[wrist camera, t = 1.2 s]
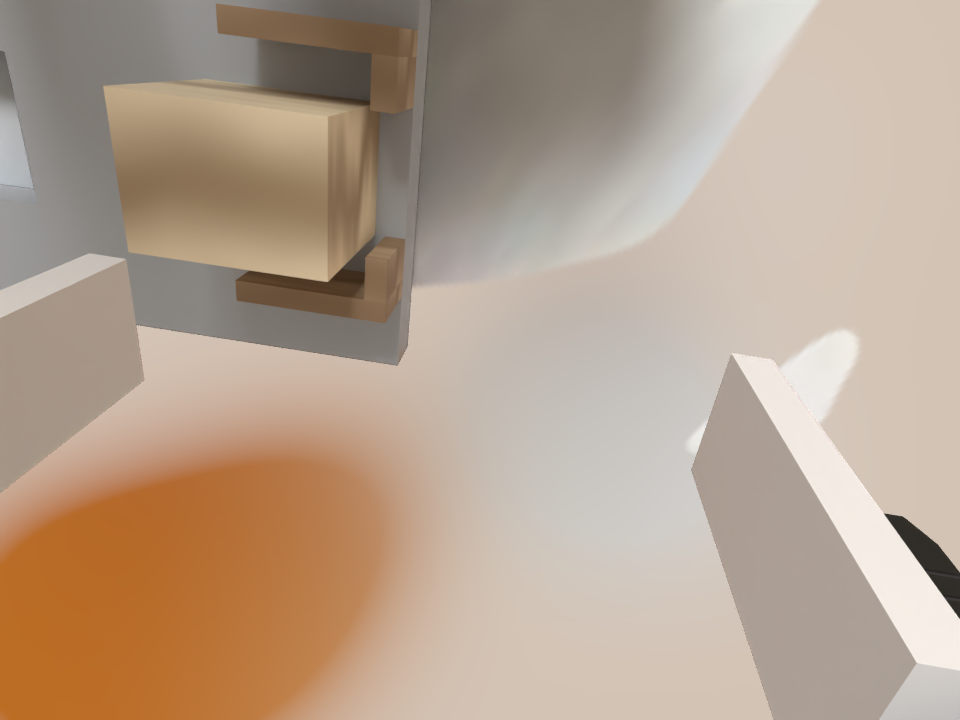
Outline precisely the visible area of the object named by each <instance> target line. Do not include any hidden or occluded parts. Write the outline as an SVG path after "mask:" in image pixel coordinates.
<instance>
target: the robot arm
mask: <svg viewBox="0 0 960 720" xmlns="http://www.w3.org/2000/svg"><path fill="white" fill-rule="evenodd" d="M143 381H144V375H143V369H142V361H141V355H140V348H139V341H138V335H137V328H136V321H135V314H134V307H133V301H132V294H131V287H130V280H129V274H128V267H127V260H126V259H123V258H116V257H110V256H103V255H97V254H91V253H89V254H86V255H84V256H82V257H79V258H77V259H74V260H72V261H70V262H67V263H65V264H62V265H60V266H58V267H55V268H53V269H50V270H48V271H46V272H43V273H41V274H38V275H36V276H34V277H31V278H29V279H26V280H24V281H22V282H19V283H17V284H15V285H12V286H10V287H7V288H5V289H3V290H0V492H2V491H3V490H4V489H6V488H7V487H8V486H10V485H11V484H12V483H13V482H15V481H16V480H17V479H19V478H20V477H21V476H22V475H24V474H25V473H26V472H28V471H29V470H30V469H31V468H33V467H34V466H35V465H36V464H38V463H39V462H40V461H42V460H43V459H44V458H45V457H46V456H48V455H49V454H50V453H52V452H53V451H54V450H56V449H57V448H58V447H59V446H61V445H62V444H63V443H65V442H66V441H67V440H68V439H70V438H71V437H72V436H73V435H75V434H76V433H77V432H79V431H80V430H81V429H82V428H84V427H85V426H86V425H88V424H89V423H90V422H91V421H92V420H94V419H95V418H97V417H98V416H99V415H100V414H102V413H103V412H104V411H106V410H107V409H108V408H109V407H111V406H112V405H113V404H114V403H116V402H117V401H118V400H119V399H121V398H122V397H123V396H125V395H126V394H127V393H129V392H130V391H131V390H132V389H134V388H135V387H136V386H137V385H139V384H140V383H141V382H143ZM691 471H692V474H693V477H694V480H695V483H696V486H697V489H698V492H699V495H700V498H701V501H702V504H703V507H704V510H705V513H706V516H707V519H708V522H709V525H710V528H711V532H712V534H713V538H714V541H715V544H716V546H717V549H718V552H719V555H720V558H721V562H722V565H723V568H724V571H725V573H726V577H727V580H728V583H729V586H730V589H731V592H732V595H733V598H734V601H735V604H736V607H737V610H738V613H739V616H740V619H741V622H742V625H743V628H744V631H745V635H746V637H747V641H748V644H749V646H750V649H751V653H752V656H753V659H754V662H755V665H756V668H757V671H758V674H759V677H760V680H761V683H762V686H763V689H764V692H765V695H766V698H767V701H768V704H769V707H770V710H771V713H772V716H773V719H774V720H960V572H959V571H958V570H957V569H956V567H955V566H954V565H953V563H952V562H951V561H950V559H949V558H948V557H947V556H946V554H945V553H944V552H943V551H942V549H941V548H940V547H939V545H938V544H936V543H935V542H934V541H933V540H931V539H930V538H929V537H928V536H927V535H925V534H924V533H923V532H922V531H920V530H919V529H918V528H916V527H915V526H914V525H913V524H912V523H910V522H909V521H908V520H907V519H905V518H904V517H902V516H896V515H890V514H884V513H883V512H882V511H881V509H880V508H879V507H878V505H877V504H876V503H875V501H874V500H873V498H872V497H871V496H870V494H869V493H868V491H867V490H866V489H865V487H864V486H863V484H862V483H861V482H860V480H859V479H858V478H857V476H856V475H855V473H854V472H853V471H852V469H851V468H850V466H849V465H848V464H847V462H846V461H845V460H844V458H843V457H842V455H841V454H840V453H839V451H838V450H837V448H836V447H835V446H834V444H833V443H832V441H831V440H830V439H829V437H828V436H827V435H826V433H825V432H824V431H823V429H822V428H821V426H820V425H819V423H818V422H817V421H816V419H815V418H814V417H813V415H812V414H811V412H810V411H809V410H808V408H807V407H806V405H805V404H804V403H803V401H802V400H801V398H800V397H799V396H798V394H797V393H796V392H795V390H794V389H793V387H792V386H791V385H790V383H789V382H788V380H787V379H786V378H785V376H784V375H783V374H782V372H781V371H780V369H779V368H778V367H777V365H776V364H775V362H774V361H773V360H772V359H766V358H759V357H753V356H747V355H740V354H734V353H732V354H731V356H730V359H729V362H728V365H727V368H726V371H725V374H724V377H723V380H722V383H721V385H720V388H719V391H718V394H717V397H716V400H715V403H714V406H713V408H712V411H711V414H710V417H709V420H708V423H707V426H706V429H705V432H704V434H703V437H702V440H701V443H700V446H699V449H698V452H697V455H696V458H695V461H694V463H693V467H692V469H691Z"/></svg>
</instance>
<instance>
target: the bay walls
mask: <svg viewBox="0 0 960 720" xmlns="http://www.w3.org/2000/svg"><path fill="white" fill-rule="evenodd" d="M216 15H217V29H218V33H219V34H226V35H234V36H241V37H249V38H256V39H264V40H272V41H279V42H287V43H294V44H302V45H309V46H317V47H324V48H332V49H339V50H347V51H355V52H362V53H370V54H372V62H371V94H370V111H377V112H385V113H392V114H396V113H399V112H402V111H404V110H407V109H410V108H413V107H414V91H415V74H416V58H417V42H418V31H417V30H412V29H406V28H401V27H394V26H386V25H379V24H371V23H363V22H356V21H348V20H340V19H333V18H325V17H317V16H310V15H302V14H294V13H287V12H279V11H271V10H264V9H256V8H248V7H240V6H233V5H225V4H217V3H216ZM404 253H405V239H400V238H393V237H386V236H385V237H384V238H383V239H382V240H381V241H380V242H379V243H378V245H377V246H376V247H375V248H374V249H373V250H372V251H371V252H370V253H369V254H368V255H367V256H366V257H365V272H359V271H352V270H346V269H340V270H339V271H338V272H337V273H336V274H335V275H334V276H333V277H332V278H331V279H330V280H329V281H328V282H323V281H317V280H310V279H303V278H297V277H290V276H283V275H277V274H270V273H263V272H257V271H250V270H249V271H248V272H247V273H245V274H244V275H242V276H241V277H239V278H238V279H237V280H235V283H236V297H237V301H242V302H248V303H255V304H261V305H268V306H274V307H281V308H287V309H294V310H300V311H307V312H314V313H320V314H327V315H333V316H340V317H346V318H353V319H359V320H366V321H372V322H379V323H385V322H386V321H387V319H388V318H389V316H390V314H391V313H392V311H393V310H394V308H395V307H396V305H397V303H398V302H399V300H400V299H401V297H402V286H403V269H404Z"/></svg>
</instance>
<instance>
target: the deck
mask: <svg viewBox="0 0 960 720" xmlns="http://www.w3.org/2000/svg"><path fill="white" fill-rule="evenodd" d="M216 3H217V4H225V5H233V6H240V7H248V8H256V9H264V10H271V11H279V12H287V13H294V14H302V15H310V16H317V17H325V18H333V19H340V20H348V21H356V22H363V23H371V24H379V25H386V26H394V27H401V28H406V29H412V30H417V31H418V42H417V58H416V74H415V91H414V107H413V108H410V109H407V110H404V111H402V112H399V113H396V114H392V113H385V112H380V122H379V148H378V174H377V201H376V227H375V236H374V237H373V238H372V239H371V240H370V241H369V242H367V243H366V244H365V245H364V246H363V247H362V248H361V249H360V250H359V251H358V252H357V253H356V254H355V255H354V256H353V257H352V258H351V259H350V260H349V261H348V262H347V263H346V264H345V265H344V266H343V267H342V268H341V269H346V270H352V271H359V272H365V257H366V256H367V255H368V254H369V253H370V252H371V251H372V250H373V249H374V248H375V247H376V246H377V245H378V243H379V242H380V241H381V240H382V239H383V238H384V237H385V236H386V237H393V238H400V239H405V253H404V269H403V286H402V297H401V299H400V300H399V302H398V303H397V305H396V307H395V308H394V310H393V311H392V313H391V314H390V316H389V318H388V319H387V321H386V322H385V323H379V322H372V321H366V320H359V319H353V318H346V317H340V316H333V315H327V314H320V313H314V312H307V311H300V310H294V309H287V308H281V307H274V306H268V305H261V304H255V303H248V302H242V301H237V297H236V283H235V280H237V279H238V278H239V277H241V276H242V275H244V274H245V273H247V272H248V271H249V270H243V269H237V268H230V267H224V266H217V265H210V264H204V263H197V262H190V261H184V260H177V259H170V258H164V257H157V256H150V255H144V254H137V253H130V252H128V246H127V239H126V233H125V226H124V220H123V213H122V207H121V200H120V193H119V187H118V180H117V174H116V167H115V161H114V154H113V147H112V141H111V134H110V128H109V121H108V114H107V108H106V101H105V95H104V88H103V86H106V85H122V84H137V83H152V82H167V81H183V80H198V79H210V80H217V81H224V82H232V83H239V84H246V85H254V86H261V87H268V88H276V89H283V90H290V91H298V92H305V93H313V94H320V95H327V96H335V97H342V98H349V99H357V100H364V101H370V94H371V62H372V54H370V53H362V52H355V51H347V50H339V49H332V48H324V47H317V46H309V45H302V44H294V43H287V42H279V41H272V40H264V39H256V38H249V37H241V36H234V35H226V34H219V33H218V29H217V15H216ZM430 13H431V0H0V51H4V52H5V56H6V61H7V65H8V70H9V75H10V79H11V84H12V89H13V93H14V98H15V103H16V107H17V112H18V117H19V121H20V126H21V131H22V135H23V140H24V145H25V149H26V154H27V159H28V163H29V168H30V173H31V177H32V182H33V187H34V189H29V188H22V187H15V186H8V185H1V184H0V290H3V289H5V288H7V287H10V286H12V285H15V284H17V283H19V282H22V281H24V280H26V279H29V278H31V277H34V276H36V275H38V274H41V273H43V272H46V271H48V270H50V269H53V268H55V267H58V266H60V265H62V264H65V263H67V262H70V261H72V260H74V259H77V258H79V257H82V256H84V255H86V254H89V253H91V254H97V255H103V256H110V257H116V258H123V259H126V260H127V267H128V274H129V280H130V287H131V294H132V301H133V307H134V314H135V321H136V325H140V326H147V327H154V328H160V329H166V330H172V331H179V332H186V333H192V334H198V335H204V336H211V337H217V338H224V339H230V340H236V341H243V342H249V343H256V344H262V345H269V346H275V347H281V348H288V349H295V350H301V351H307V352H313V353H320V354H326V355H333V356H339V357H345V358H352V359H359V360H365V361H372V362H378V363H384V364H391V365H398V364H399V362H400V360H401V358H402V356H403V354H404V352H405V350H406V348H407V346H408V332H409V331H408V330H409V318H410V303H411V289H412V274H413V259H414V245H415V230H416V216H417V201H418V187H419V172H420V158H421V143H422V129H423V114H424V100H425V85H426V71H427V56H428V42H429V27H430Z"/></svg>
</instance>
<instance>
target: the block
mask: <svg viewBox="0 0 960 720" xmlns="http://www.w3.org/2000/svg"><path fill="white" fill-rule="evenodd" d="M103 88H104V95H105V101H106V108H107V114H108V121H109V128H110V134H111V141H112V147H113V154H114V161H115V167H116V174H117V180H118V187H119V193H120V200H121V207H122V213H123V220H124V226H125V233H126V239H127V246H128V252H130V253H137V254H144V255H150V256H157V257H164V258H170V259H177V260H184V261H190V262H197V263H204V264H210V265H217V266H224V267H230V268H237V269H243V270H250V271H257V272H263V273H270V274H277V275H283V276H290V277H297V278H303V279H310V280H317V281H323V282H328V281H329V280H330V279H331V278H332V277H333V276H334V275H335V274H336V273H337V272H338V271H339V270H340V269H341V268H342V267H343V266H344V265H345V264H346V263H347V262H348V261H349V260H350V259H351V258H352V257H353V256H354V255H355V254H356V253H357V252H358V251H359V250H360V249H361V248H362V247H363V246H364V245H365V244H366V243H367V242H369V241H370V240H371V239H372V238H373V237H374V236H375V227H376V201H377V174H378V148H379V122H380V112H377V111H370V101H364V100H357V99H349V98H342V97H335V96H327V95H320V94H313V93H305V92H298V91H290V90H283V89H276V88H268V87H261V86H254V85H246V84H239V83H232V82H224V81H217V80H210V79H198V80H183V81H167V82H152V83H137V84H122V85H106V86H103Z"/></svg>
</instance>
